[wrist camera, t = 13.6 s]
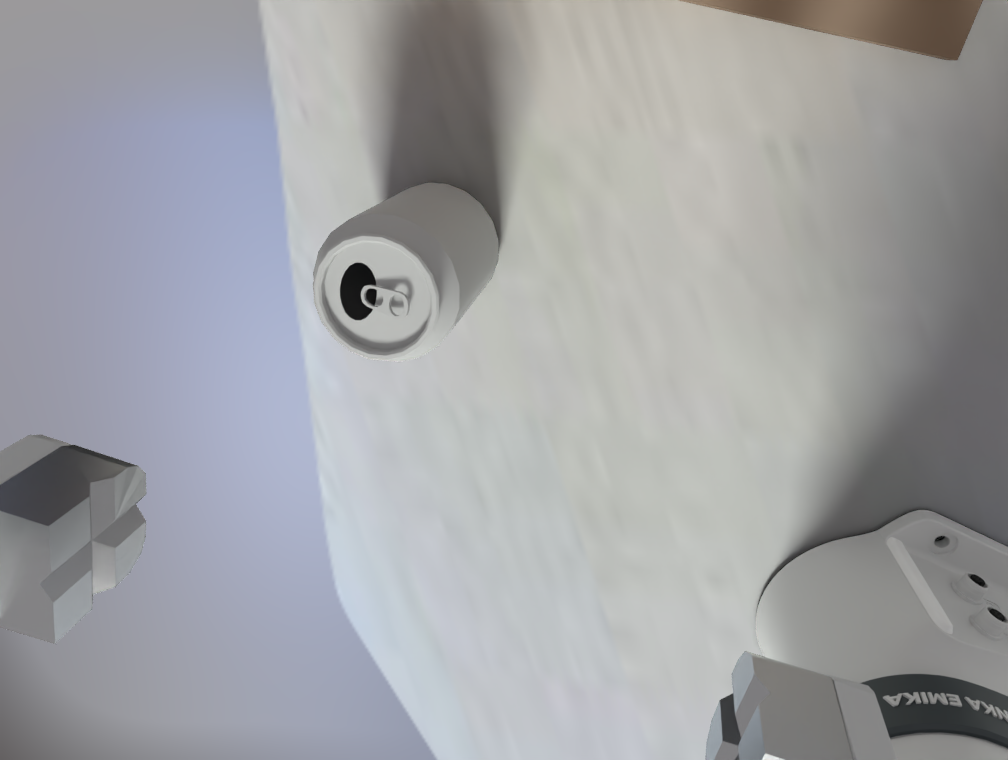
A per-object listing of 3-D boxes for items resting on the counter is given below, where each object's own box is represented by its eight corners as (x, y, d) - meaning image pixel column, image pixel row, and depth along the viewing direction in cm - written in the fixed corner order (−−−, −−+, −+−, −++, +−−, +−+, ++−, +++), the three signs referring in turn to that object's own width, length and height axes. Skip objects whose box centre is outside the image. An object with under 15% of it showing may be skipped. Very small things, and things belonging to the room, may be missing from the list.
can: (390, 167, 45) (303, 204, 35) (512, 195, 45) (462, 241, 34) (376, 286, 49) (293, 354, 38) (490, 314, 48) (438, 391, 37)
